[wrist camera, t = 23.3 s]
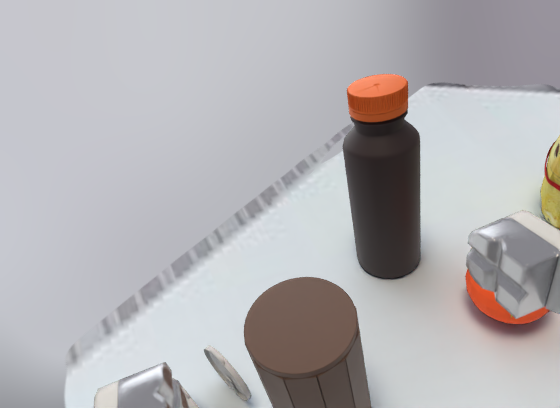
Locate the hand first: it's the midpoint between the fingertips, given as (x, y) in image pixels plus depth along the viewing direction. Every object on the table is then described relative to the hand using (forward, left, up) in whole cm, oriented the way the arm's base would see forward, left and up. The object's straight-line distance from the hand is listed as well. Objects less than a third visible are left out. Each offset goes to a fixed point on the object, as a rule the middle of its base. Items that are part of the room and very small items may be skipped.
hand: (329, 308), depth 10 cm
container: (+6, +7, -25) cm, 26 cm away
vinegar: (+25, +9, -25) cm, 36 cm away
